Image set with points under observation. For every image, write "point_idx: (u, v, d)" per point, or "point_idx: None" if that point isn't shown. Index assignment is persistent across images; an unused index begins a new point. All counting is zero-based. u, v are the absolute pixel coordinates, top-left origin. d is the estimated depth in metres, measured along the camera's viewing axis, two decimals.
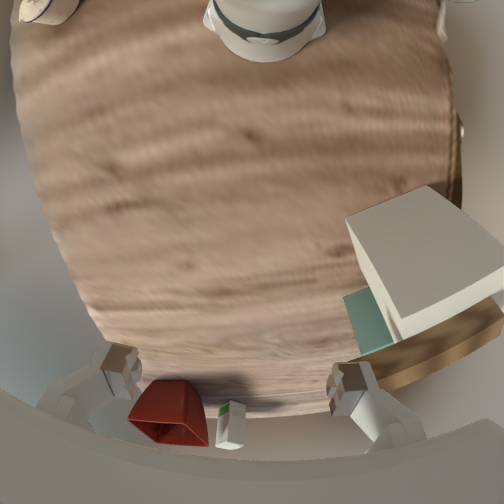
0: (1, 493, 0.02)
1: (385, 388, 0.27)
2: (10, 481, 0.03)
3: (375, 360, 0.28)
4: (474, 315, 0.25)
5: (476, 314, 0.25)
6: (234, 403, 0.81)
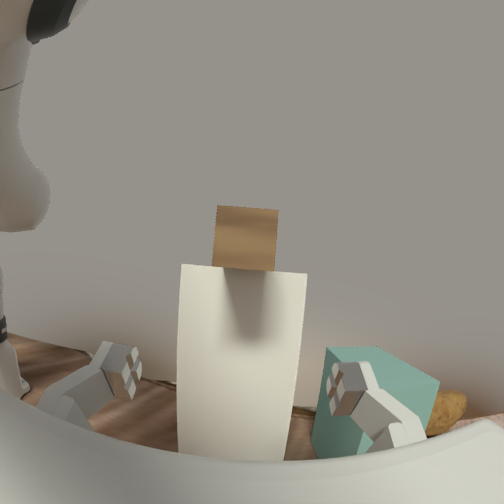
0: (1, 493, 0.02)
1: None
2: (10, 481, 0.03)
3: None
4: None
5: None
6: None
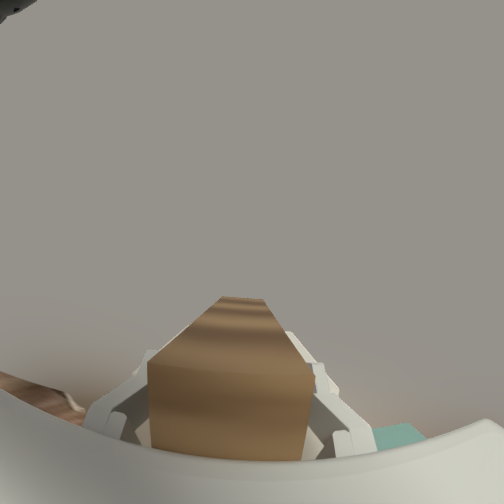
0: (1, 493, 0.02)
1: (255, 334, 0.11)
2: (10, 481, 0.03)
3: None
4: None
5: None
6: None
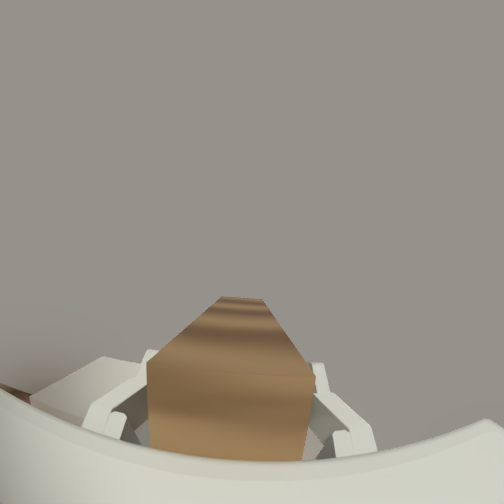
0: (1, 493, 0.02)
1: (255, 334, 0.11)
2: (10, 481, 0.03)
3: None
4: None
5: None
6: None
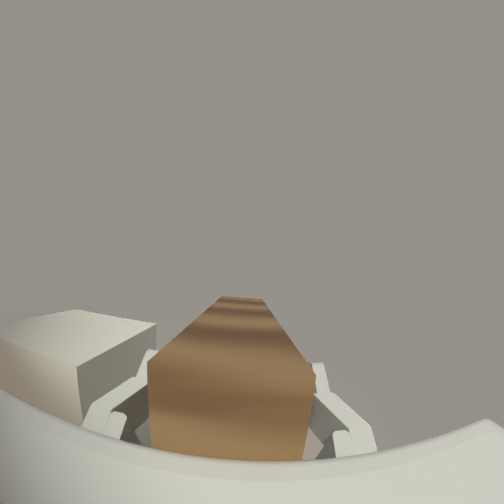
0: (1, 493, 0.02)
1: (255, 333, 0.11)
2: (10, 481, 0.03)
3: None
4: None
5: None
6: None
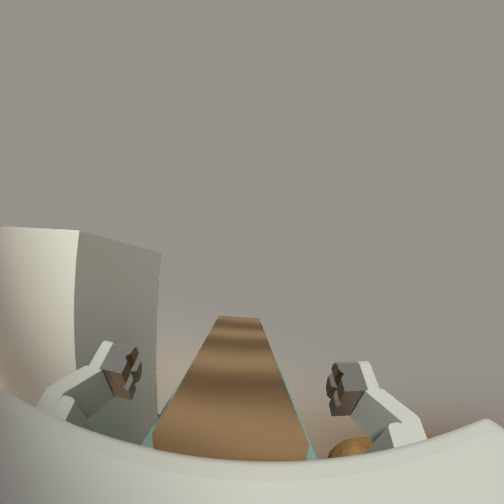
0: (1, 493, 0.02)
1: (253, 381, 0.10)
2: (10, 481, 0.03)
3: None
4: None
5: None
6: None
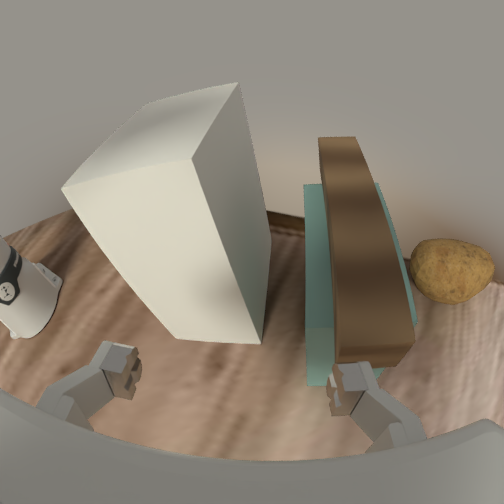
0: (1, 493, 0.02)
1: (381, 268, 0.15)
2: (10, 481, 0.03)
3: (334, 299, 0.18)
4: (322, 177, 0.26)
5: None
6: None
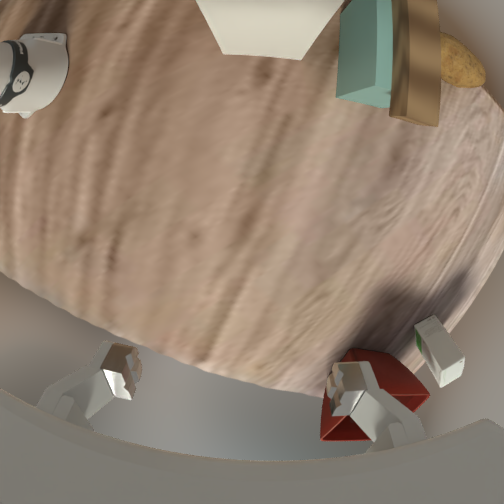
0: (1, 493, 0.02)
1: (431, 80, 0.19)
2: (10, 481, 0.03)
3: (396, 77, 0.22)
4: None
5: None
6: (420, 324, 0.55)
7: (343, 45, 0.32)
